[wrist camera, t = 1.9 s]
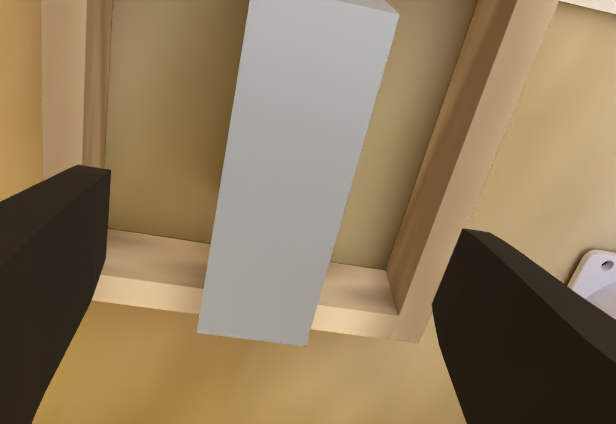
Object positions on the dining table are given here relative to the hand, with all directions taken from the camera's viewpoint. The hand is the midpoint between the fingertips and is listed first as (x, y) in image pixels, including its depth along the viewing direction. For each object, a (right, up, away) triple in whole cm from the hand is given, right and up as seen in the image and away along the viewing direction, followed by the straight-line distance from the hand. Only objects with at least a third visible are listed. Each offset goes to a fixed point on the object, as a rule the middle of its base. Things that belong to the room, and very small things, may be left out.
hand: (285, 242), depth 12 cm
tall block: (-1, +5, +9) cm, 10 cm away
